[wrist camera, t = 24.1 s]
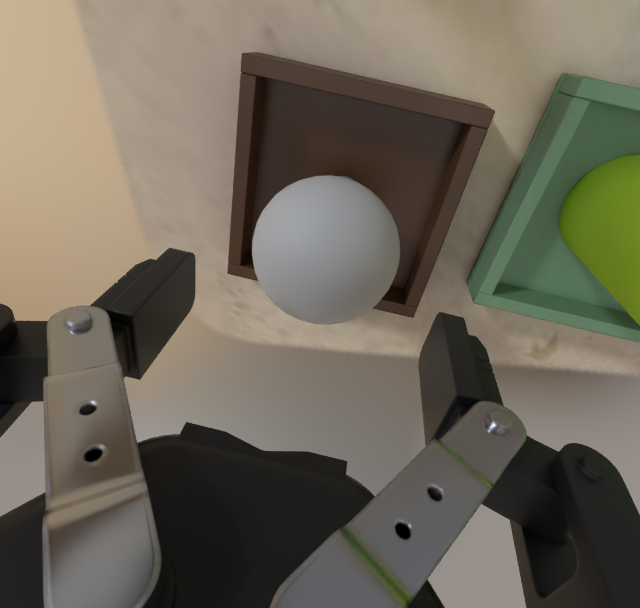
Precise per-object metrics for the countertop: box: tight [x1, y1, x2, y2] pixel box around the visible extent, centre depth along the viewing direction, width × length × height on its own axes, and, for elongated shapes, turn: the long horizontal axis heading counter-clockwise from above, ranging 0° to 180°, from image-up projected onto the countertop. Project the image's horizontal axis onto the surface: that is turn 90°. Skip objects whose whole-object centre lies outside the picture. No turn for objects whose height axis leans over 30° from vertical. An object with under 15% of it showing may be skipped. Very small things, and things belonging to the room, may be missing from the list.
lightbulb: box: [252, 175, 400, 324], centre depth 19 cm, size 6×6×11 cm
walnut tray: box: [228, 52, 495, 318], centre depth 23 cm, size 12×12×3 cm
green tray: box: [467, 73, 640, 342], centre depth 22 cm, size 12×12×3 cm
